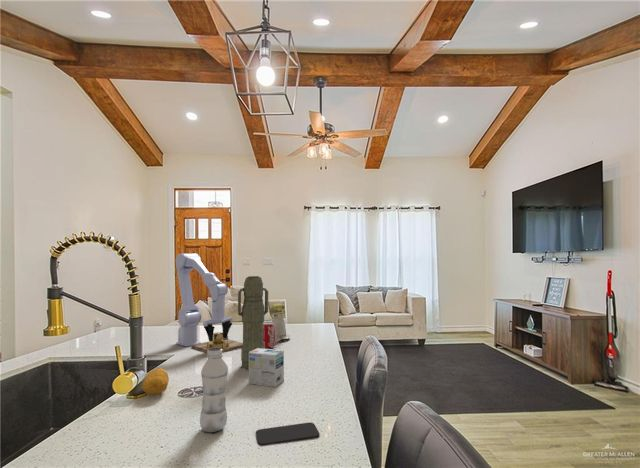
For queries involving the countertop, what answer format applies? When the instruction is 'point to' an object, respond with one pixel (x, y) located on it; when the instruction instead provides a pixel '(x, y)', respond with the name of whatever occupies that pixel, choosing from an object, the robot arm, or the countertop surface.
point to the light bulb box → (266, 367)
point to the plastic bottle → (214, 392)
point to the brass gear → (218, 341)
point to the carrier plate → (232, 346)
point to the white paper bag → (279, 321)
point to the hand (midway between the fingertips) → (217, 339)
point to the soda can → (268, 335)
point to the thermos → (252, 316)
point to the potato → (155, 381)
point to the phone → (287, 433)
